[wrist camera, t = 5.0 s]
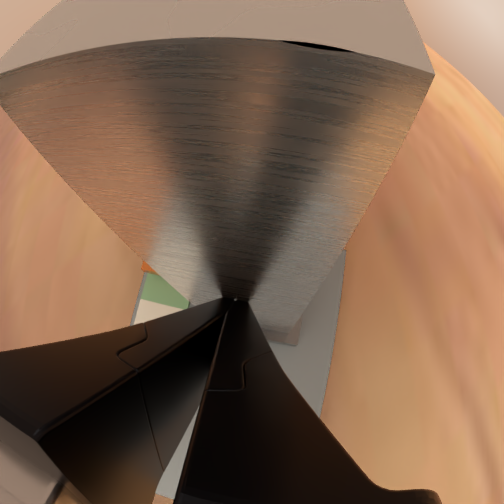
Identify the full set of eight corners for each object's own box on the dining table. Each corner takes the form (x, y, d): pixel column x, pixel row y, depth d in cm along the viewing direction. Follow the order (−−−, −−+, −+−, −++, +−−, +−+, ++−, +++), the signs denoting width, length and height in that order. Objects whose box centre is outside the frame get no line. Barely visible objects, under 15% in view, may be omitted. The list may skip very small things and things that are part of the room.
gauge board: (289, 515, 13) (295, 553, 9) (109, 468, 14) (72, 487, 10) (346, 216, 19) (364, 177, 15) (178, 189, 20) (159, 149, 16)
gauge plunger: (295, 346, 15) (518, 156, 1) (136, 311, 16) (-114, 146, 2) (310, 255, 17) (398, -48, 3) (161, 229, 18) (17, -8, 4)
